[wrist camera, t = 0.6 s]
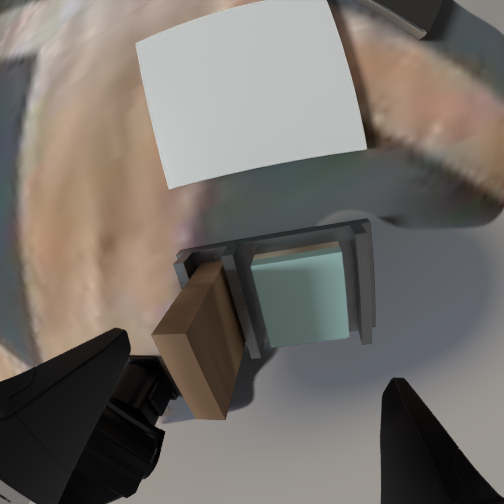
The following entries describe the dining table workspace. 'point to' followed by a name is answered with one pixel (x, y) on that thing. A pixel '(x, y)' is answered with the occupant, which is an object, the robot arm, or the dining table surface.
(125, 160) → the dining table surface
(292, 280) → the offcut upper
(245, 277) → the rack
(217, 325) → the brown flat block
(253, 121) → the board
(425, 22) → the picture frame
